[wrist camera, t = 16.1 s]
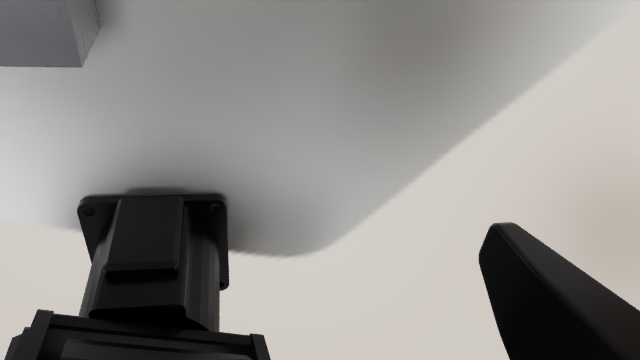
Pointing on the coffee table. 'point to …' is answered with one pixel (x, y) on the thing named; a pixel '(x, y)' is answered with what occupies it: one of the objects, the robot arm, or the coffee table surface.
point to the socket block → (47, 32)
